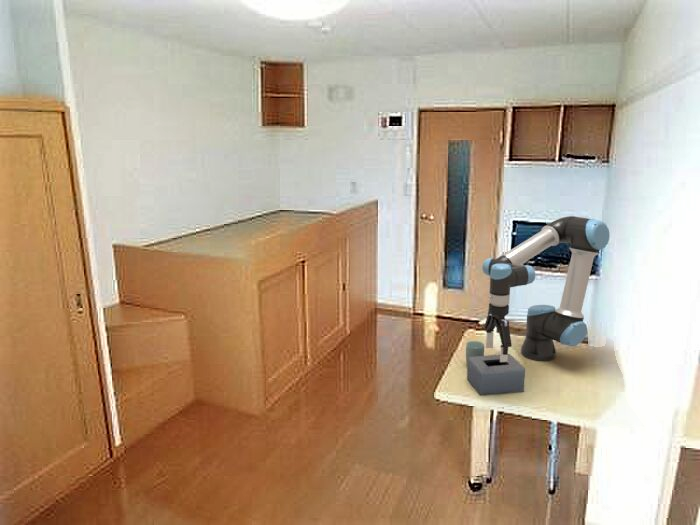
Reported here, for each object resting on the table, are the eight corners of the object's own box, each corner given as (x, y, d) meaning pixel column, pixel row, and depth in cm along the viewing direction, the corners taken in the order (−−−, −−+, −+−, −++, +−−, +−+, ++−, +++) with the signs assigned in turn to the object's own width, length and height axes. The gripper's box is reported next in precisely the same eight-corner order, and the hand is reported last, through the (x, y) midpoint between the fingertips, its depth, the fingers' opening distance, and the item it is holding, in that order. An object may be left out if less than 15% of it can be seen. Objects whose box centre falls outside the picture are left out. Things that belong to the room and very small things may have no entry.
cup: (483, 370, 222) (484, 348, 219) (465, 368, 223) (466, 347, 221) (483, 362, 229) (484, 341, 227) (465, 361, 231) (466, 340, 228)
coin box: (507, 375, 216) (509, 353, 214) (523, 391, 203) (525, 368, 200) (466, 379, 214) (467, 357, 211) (480, 395, 200) (481, 372, 198)
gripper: (477, 294, 211) (475, 342, 216) (503, 315, 187) (500, 368, 192) (494, 293, 212) (492, 341, 217) (523, 313, 188) (519, 367, 193)
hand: (496, 354), depth 205 cm, fingers open, 13 cm apart
